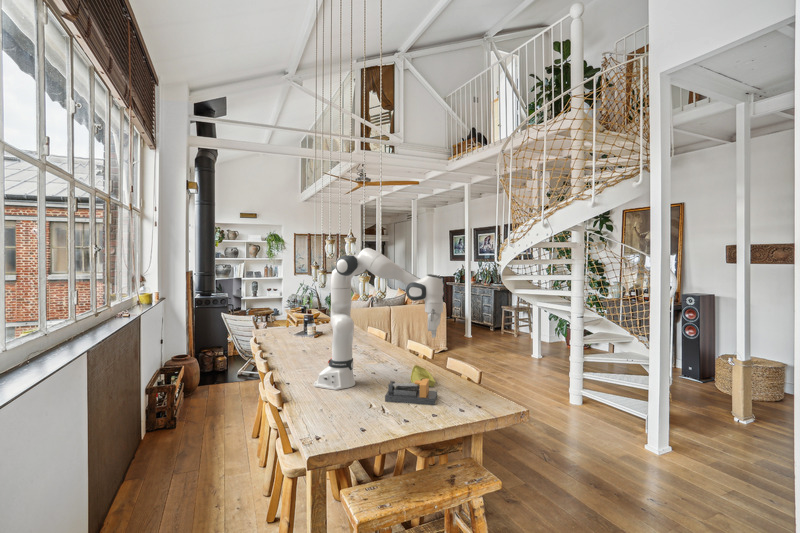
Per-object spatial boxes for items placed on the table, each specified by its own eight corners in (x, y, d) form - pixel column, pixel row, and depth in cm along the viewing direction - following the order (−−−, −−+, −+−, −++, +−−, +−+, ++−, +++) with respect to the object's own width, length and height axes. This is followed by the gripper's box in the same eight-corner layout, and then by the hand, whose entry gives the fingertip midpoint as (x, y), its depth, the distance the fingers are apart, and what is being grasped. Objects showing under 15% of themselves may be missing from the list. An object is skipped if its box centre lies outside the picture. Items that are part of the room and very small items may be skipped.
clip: (413, 396, 187) (413, 384, 187) (416, 389, 197) (416, 378, 197) (425, 397, 186) (425, 385, 185) (428, 390, 195) (428, 378, 195)
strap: (389, 386, 193) (389, 384, 193) (391, 385, 195) (390, 382, 195) (417, 386, 190) (417, 384, 190) (418, 384, 193) (417, 382, 193)
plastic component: (436, 383, 209) (420, 376, 208) (430, 395, 210) (414, 388, 208) (428, 369, 229) (413, 363, 227) (422, 381, 229) (407, 374, 227)
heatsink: (385, 401, 189) (384, 386, 189) (390, 393, 200) (390, 379, 200) (434, 405, 184) (434, 389, 184) (437, 397, 195) (437, 382, 195)
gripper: (438, 311, 178) (438, 341, 178) (442, 305, 198) (442, 333, 198) (424, 311, 179) (424, 341, 180) (430, 305, 199) (430, 332, 200)
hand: (434, 337), depth 189 cm, fingers closed
